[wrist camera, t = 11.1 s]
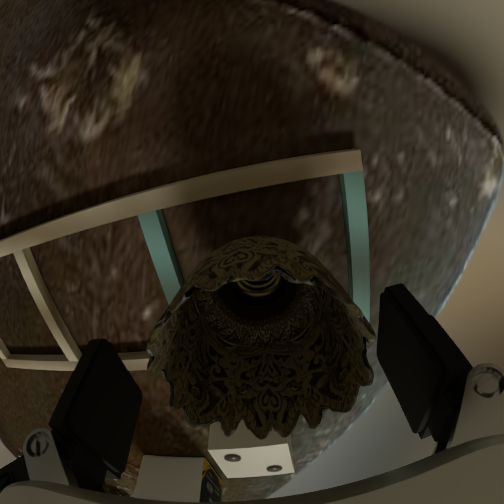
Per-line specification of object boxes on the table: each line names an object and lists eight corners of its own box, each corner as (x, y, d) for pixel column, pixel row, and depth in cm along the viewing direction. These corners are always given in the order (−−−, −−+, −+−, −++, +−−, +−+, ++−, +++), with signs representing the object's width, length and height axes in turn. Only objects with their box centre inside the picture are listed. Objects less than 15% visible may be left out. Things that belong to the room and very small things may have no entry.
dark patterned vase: (172, 215, 15) (106, 300, 7) (318, 190, 14) (386, 257, 7) (207, 333, 18) (188, 446, 10) (329, 314, 17) (367, 423, 10)
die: (213, 393, 20) (207, 450, 15) (281, 386, 20) (287, 444, 15) (229, 428, 22) (227, 478, 17) (288, 422, 22) (294, 473, 17)
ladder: (-43, 259, 16) (-48, 263, 15) (354, 148, 13) (360, 149, 13) (10, 361, 20) (6, 366, 19) (365, 328, 18) (368, 336, 17)
